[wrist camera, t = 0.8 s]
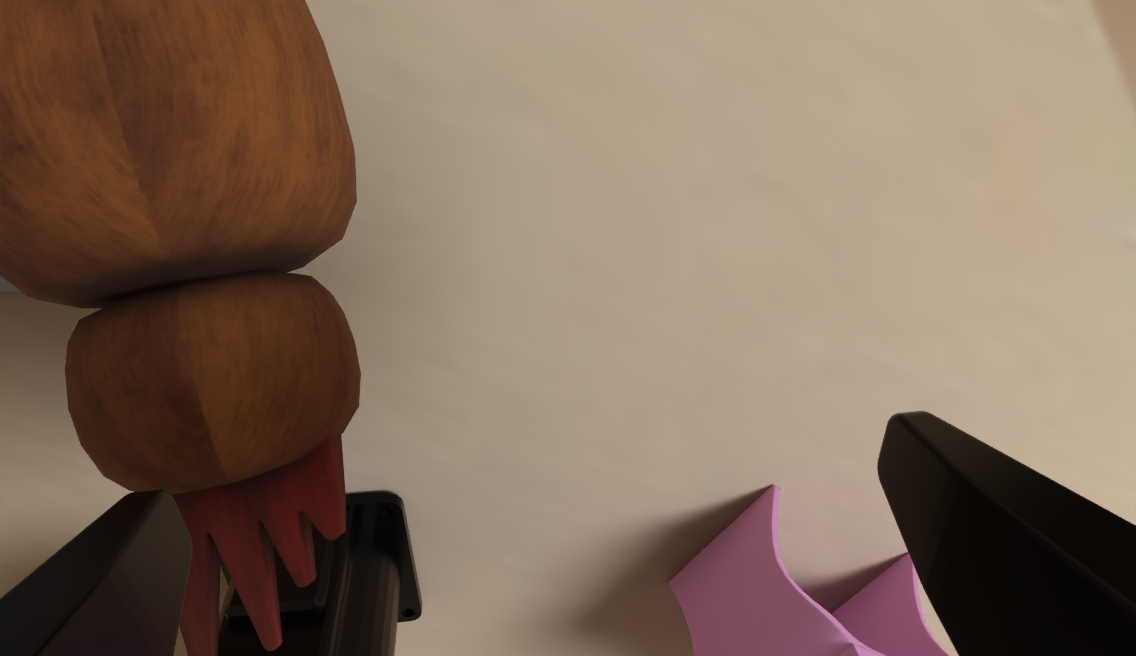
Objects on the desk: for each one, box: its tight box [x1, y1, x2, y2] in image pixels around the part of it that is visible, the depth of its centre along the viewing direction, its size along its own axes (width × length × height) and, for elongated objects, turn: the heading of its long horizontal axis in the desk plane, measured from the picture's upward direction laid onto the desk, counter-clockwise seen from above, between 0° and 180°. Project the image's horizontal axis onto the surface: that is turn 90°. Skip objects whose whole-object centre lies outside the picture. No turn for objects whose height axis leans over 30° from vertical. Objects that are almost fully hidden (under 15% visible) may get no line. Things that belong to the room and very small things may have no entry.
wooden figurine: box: [0, 0, 361, 656], centre depth 14 cm, size 7×6×15 cm
